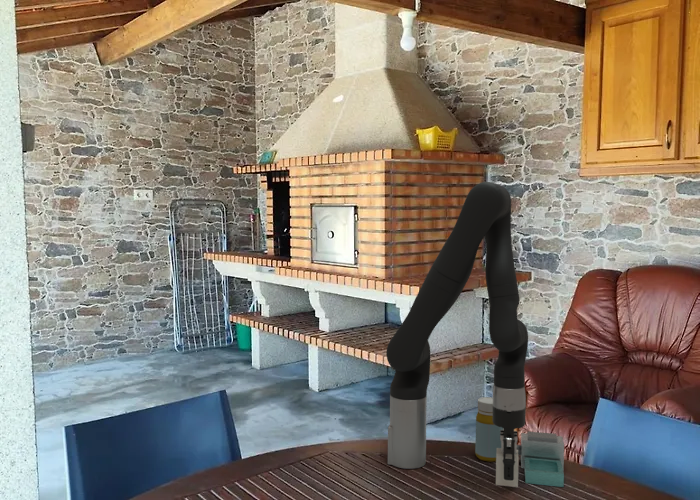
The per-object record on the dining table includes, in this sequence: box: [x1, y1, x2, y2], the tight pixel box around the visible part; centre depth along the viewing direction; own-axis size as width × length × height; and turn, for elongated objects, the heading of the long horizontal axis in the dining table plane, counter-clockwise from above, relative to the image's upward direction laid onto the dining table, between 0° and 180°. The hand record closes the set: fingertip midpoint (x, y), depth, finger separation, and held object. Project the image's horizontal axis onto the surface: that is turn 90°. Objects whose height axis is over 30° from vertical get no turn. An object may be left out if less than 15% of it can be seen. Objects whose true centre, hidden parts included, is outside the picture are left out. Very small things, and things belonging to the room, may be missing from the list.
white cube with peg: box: [495, 448, 519, 488], centre depth 147 cm, size 5×5×9 cm
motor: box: [516, 431, 565, 488], centre depth 153 cm, size 13×15×8 cm
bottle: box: [474, 396, 504, 463], centre depth 162 cm, size 7×7×15 cm
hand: (508, 472), depth 147 cm, fingers open, 8 cm apart
